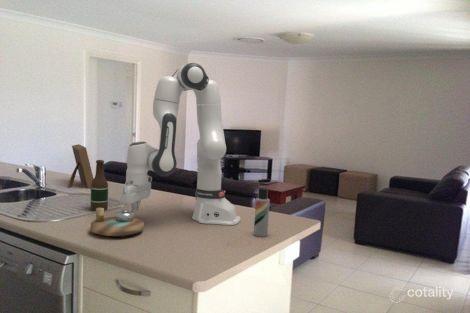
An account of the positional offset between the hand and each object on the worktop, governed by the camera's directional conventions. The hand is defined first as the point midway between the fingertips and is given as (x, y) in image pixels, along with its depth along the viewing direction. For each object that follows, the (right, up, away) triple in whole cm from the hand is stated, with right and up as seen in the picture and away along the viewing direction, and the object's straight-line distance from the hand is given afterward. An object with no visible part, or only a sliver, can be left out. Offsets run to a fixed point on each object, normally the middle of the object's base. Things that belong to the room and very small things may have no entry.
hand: (135, 211), depth 168 cm
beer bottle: (-22, -2, +19) cm, 29 cm away
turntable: (-4, -5, -14) cm, 15 cm away
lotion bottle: (+54, -9, -7) cm, 55 cm away
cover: (-2, -2, -9) cm, 9 cm away
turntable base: (-4, -6, -14) cm, 15 cm away
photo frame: (-54, +5, +75) cm, 92 cm away
